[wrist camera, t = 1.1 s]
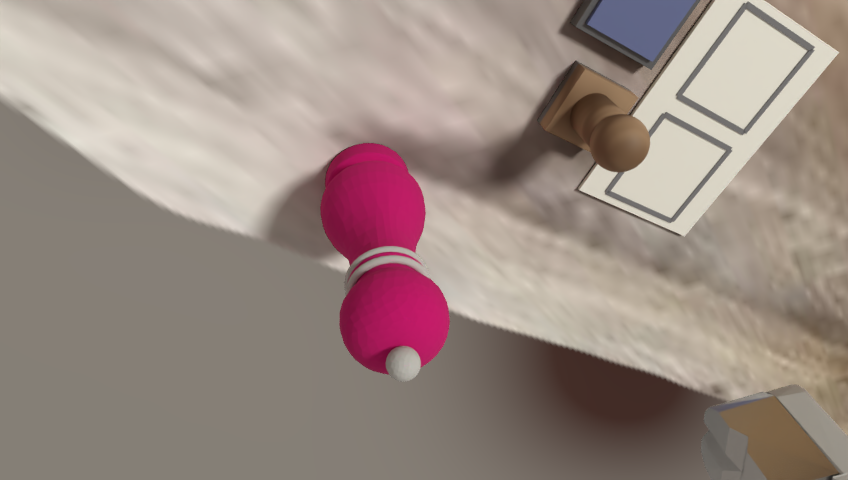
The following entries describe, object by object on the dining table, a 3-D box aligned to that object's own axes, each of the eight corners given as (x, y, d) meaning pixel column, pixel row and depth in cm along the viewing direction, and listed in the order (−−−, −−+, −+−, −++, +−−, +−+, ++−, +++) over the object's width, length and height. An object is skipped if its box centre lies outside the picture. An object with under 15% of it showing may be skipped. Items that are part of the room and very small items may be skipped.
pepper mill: (359, 236, 50) (390, 443, 34) (298, 175, 46) (300, 376, 30) (433, 184, 49) (503, 376, 32) (376, 116, 45) (423, 295, 28)
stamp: (575, 60, 45) (626, 107, 38) (627, 88, 47) (685, 137, 40) (537, 120, 47) (578, 174, 40) (588, 144, 49) (636, 200, 42)
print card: (729, -24, 43) (732, -22, 43) (836, 51, 48) (839, 52, 48) (577, 188, 51) (579, 190, 51) (682, 234, 56) (684, 236, 55)
